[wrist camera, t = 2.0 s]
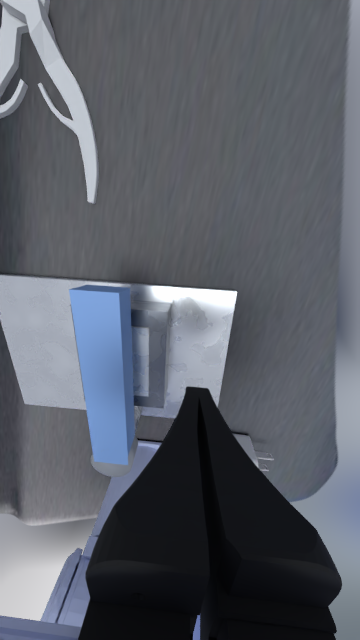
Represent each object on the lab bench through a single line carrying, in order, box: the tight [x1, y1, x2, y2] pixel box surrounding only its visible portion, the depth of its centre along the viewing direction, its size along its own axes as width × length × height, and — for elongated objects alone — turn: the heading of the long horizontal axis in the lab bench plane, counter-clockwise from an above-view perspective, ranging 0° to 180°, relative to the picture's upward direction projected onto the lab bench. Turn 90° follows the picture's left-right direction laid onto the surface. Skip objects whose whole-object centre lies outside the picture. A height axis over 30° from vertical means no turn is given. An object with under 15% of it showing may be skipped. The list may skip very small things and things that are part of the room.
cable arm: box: [69, 285, 138, 477], centre depth 14 cm, size 17×4×2 cm, turn 177°
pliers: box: [0, 0, 99, 204], centre depth 13 cm, size 10×2×15 cm
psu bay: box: [0, 274, 237, 432], centre depth 18 cm, size 16×24×5 cm, turn 87°
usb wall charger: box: [233, 434, 274, 471], centre depth 22 cm, size 4×7×4 cm, turn 83°
